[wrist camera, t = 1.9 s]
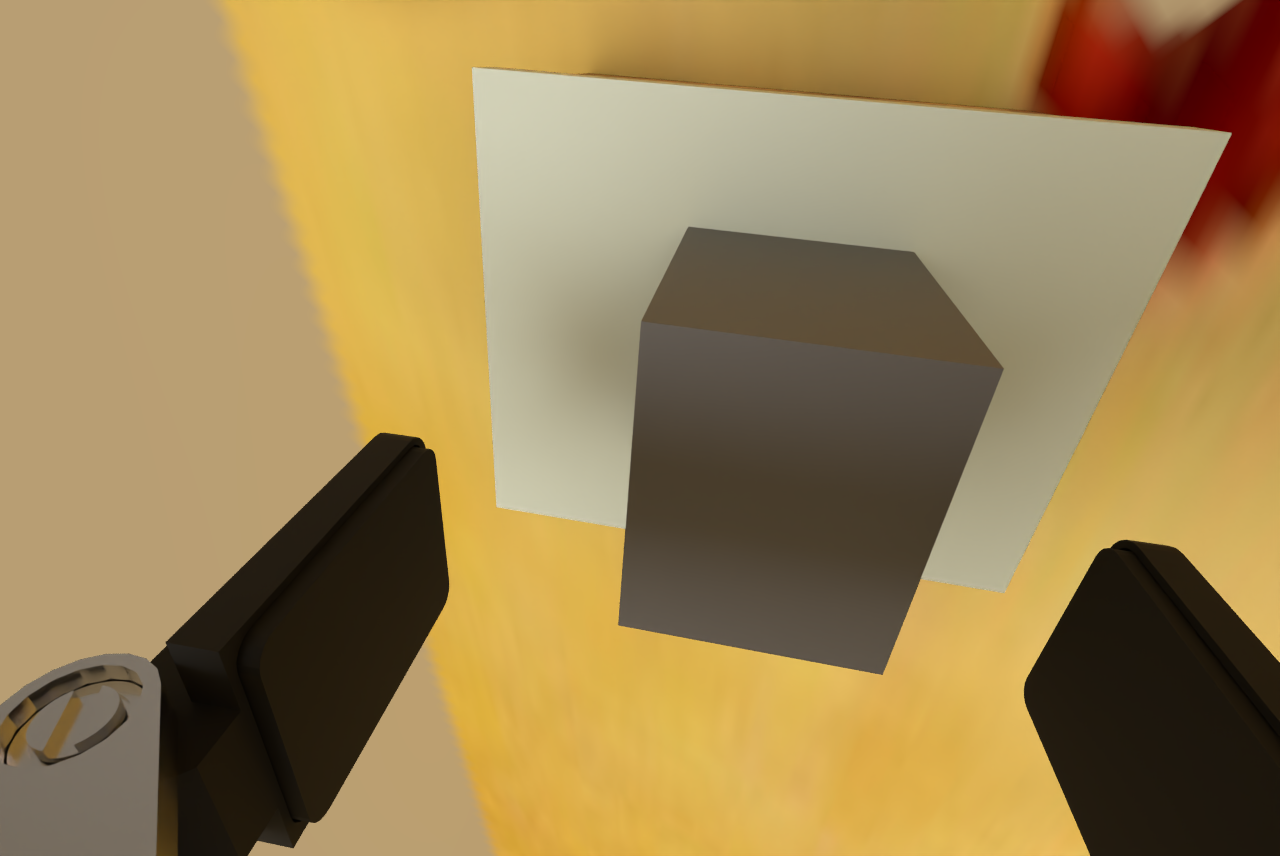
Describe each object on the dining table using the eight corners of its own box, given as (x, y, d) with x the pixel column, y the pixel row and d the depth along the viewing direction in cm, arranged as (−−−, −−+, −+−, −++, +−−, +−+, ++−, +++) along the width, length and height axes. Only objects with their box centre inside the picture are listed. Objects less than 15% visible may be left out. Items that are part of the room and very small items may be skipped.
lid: (1166, 123, 13) (1606, 189, 6) (981, 541, 19) (1103, 817, 12) (509, 67, 15) (281, 69, 8) (521, 466, 21) (394, 672, 14)
